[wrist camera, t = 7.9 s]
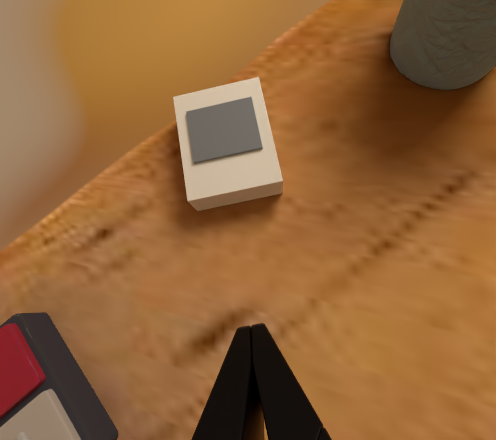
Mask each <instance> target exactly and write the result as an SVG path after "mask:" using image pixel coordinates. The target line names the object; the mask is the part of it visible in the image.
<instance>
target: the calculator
mask: <svg viewBox="0 0 496 440" xmlns="http://www.w3.org/2000/svg"><path fill="white" fill-rule="evenodd" d="M117 438H118V431H117V429H116V427H115V425H114V424H113V422H112V420H111V419H110V417H109V415H108V414H107V412H106V410H105V409H104V407H103V405H102V404H101V402H100V400H99V399H98V397H97V395H96V394H95V392H94V390H93V389H92V387H91V385H90V384H89V382H88V380H87V379H86V377H85V375H84V374H83V372H82V370H81V369H80V367H79V365H78V364H77V362H76V360H75V359H74V357H73V355H72V354H71V352H70V350H69V349H68V347H67V345H66V344H65V342H64V340H63V339H62V337H61V335H60V334H59V332H58V330H57V329H56V327H55V325H54V324H53V322H52V320H51V319H50V317H49V315H48V314H47V313H21V314H15V315H13V316H12V317H11V318H10V319H8V320H7V321H6V322H4V323H3V324H2V325H1V326H0V440H116V439H117Z"/></svg>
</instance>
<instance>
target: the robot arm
mask: <svg viewBox="0 0 496 440" xmlns="http://www.w3.org/2000/svg"><path fill="white" fill-rule="evenodd" d="M264 421H265V425H266V430H267V435H268V440H332V439H331V438H330V436H329V434H328V432H327V431H326V429H325V428H323V424H322V422H321V421H320V419H319V417H318V415H317V414H316V412H315V410H314V409H313V407H312V405H311V403H310V402H309V400H308V398H307V396H306V395H305V393H304V391H303V390H302V388H301V386H300V384H299V383H298V381H297V379H296V377H295V376H294V374H293V372H292V371H291V369H290V367H289V365H288V364H287V362H286V360H285V358H284V357H283V355H282V353H281V352H280V350H279V348H278V346H277V345H276V343H275V341H274V339H273V338H272V336H271V334H270V333H269V331H268V329H267V327H266V326H265V324H263V323H260V324H255V325H252V326H243V327H239V328H238V329H237V330H236V333H235V335H234V338H233V340H232V342H231V345H230V347H229V350H228V352H227V355H226V357H225V359H224V362H223V364H222V367H221V369H220V372H219V374H218V376H217V379H216V381H215V384H214V386H213V389H212V391H211V393H210V396H209V398H208V401H207V403H206V406H205V408H204V410H203V413H202V415H201V418H200V420H199V423H198V425H197V427H196V430H195V432H194V435H193V437H192V440H264Z"/></svg>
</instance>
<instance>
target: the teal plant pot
mask: <svg viewBox="0 0 496 440" xmlns="http://www.w3.org/2000/svg"><path fill="white" fill-rule="evenodd" d="M390 56H391V58H392V60H393V62H394V64H395V66H396V67H397V68H398V71H399V72H400V73H402V74H404V75H405V76H406V78H408V79H410V80H411V81H413V82H415V83H417V84H420V85H422V86H425V87H430V88H432V89H438V90H453V89H458V88H462V87H465V86H468V85H471V84H473V83H474V82H476V81H478V80H480V79H481V78H482V77H484V76H485V75H486V74H488V73H489V72H490V71H491V70H492V69H493V68H494V67H495V66H496V0H404V1H403V3H402V6H401V9H400V11H399V14H398V17H397V20H396V23H395V26H394V29H393V32H392V35H391V40H390Z"/></svg>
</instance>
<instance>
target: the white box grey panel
mask: <svg viewBox="0 0 496 440" xmlns="http://www.w3.org/2000/svg"><path fill="white" fill-rule="evenodd" d="M173 98H174V105H175V113H176V120H177V128H178V135H179V142H180V150H181V157H182V164H183V172H184V179H185V186H186V194H187V201H188V202H189V203H190V204H191V205H192V206H193V207H194V208H195V209H196V210H197V211H201V210H206V209H210V208H215V207H220V206H225V205H229V204H234V203H239V202H244V201H249V200H253V199H258V198H263V197H268V196H272V195H277V194H282V193H283V179H282V175H281V171H280V166H279V162H278V158H277V153H276V149H275V145H274V141H273V136H272V132H271V128H270V123H269V119H268V115H267V111H266V106H265V102H264V98H263V93H262V89H261V85H260V81H259V77H256V78H252V79H248V80H244V81H239V82H235V83H231V84H227V85H222V86H218V87H214V88H209V89H205V90H201V91H197V92H193V93H188V94H184V95H179V96H176V97H173Z"/></svg>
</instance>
